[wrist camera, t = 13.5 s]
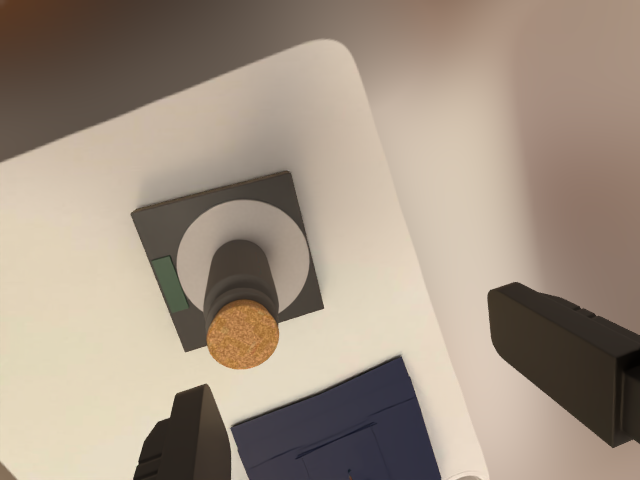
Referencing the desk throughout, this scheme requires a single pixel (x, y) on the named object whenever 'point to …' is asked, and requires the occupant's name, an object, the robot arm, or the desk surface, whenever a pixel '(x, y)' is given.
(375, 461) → the papers
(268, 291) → the bottle
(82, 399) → the desk surface
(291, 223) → the scale
